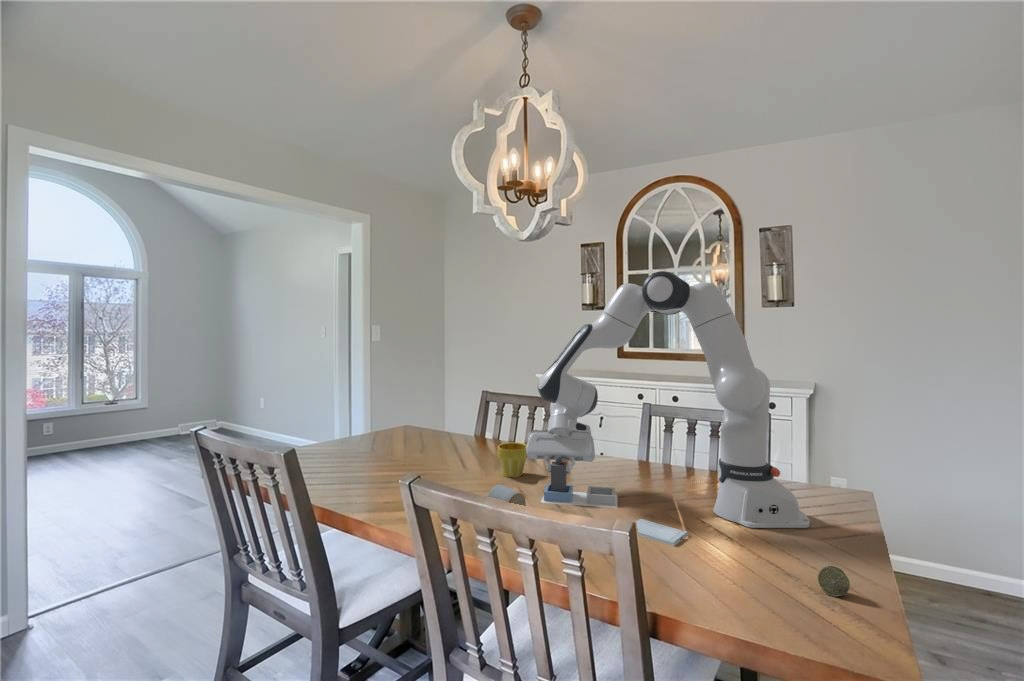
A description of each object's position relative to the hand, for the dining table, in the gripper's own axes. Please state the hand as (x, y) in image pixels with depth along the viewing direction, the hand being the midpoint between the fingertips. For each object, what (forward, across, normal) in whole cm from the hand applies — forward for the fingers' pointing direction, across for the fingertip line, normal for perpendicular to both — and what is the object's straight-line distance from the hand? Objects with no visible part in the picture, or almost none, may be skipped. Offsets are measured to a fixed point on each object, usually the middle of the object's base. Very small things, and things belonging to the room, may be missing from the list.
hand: (558, 472), depth 145 cm
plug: (+4, 0, +5) cm, 6 cm away
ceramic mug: (+15, -12, -3) cm, 19 cm away
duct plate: (+6, +6, +6) cm, 10 cm away
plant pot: (-10, -18, +22) cm, 31 cm away
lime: (+34, +56, -22) cm, 69 cm away
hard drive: (+19, +26, -6) cm, 33 cm away
